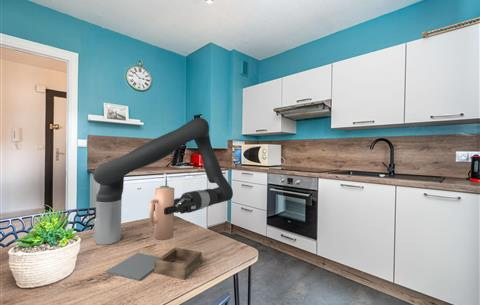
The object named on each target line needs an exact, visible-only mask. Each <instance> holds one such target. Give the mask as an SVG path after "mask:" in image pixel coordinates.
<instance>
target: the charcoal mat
mask: <svg viewBox="0 0 480 305" xmlns="http://www.w3.org/2000/svg"><path fill="white" fill-rule="evenodd" d="M159 258H160V256H156V255H152V254H148V253H147V254H146V253H140V252H136V253H135V254H133V255H131V256H130V257H127V258H126V259H124V260H122V261H121V262H119V263H118V264H115V265H114V266H112V267H111V268H109V269H107V270H106V271H105V273H106V274H110V275H114V276H117V277H121V278H126V279H129V280H133V281H138V282H140V281H142V280H143V279H145V278H146V277H147V276H148V275H150V274H151V273H153V272H154V262H155V261H156V260H158V259H159Z"/></svg>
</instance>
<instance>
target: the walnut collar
mask: <svg viewBox="0 0 480 305" xmlns="http://www.w3.org/2000/svg"><path fill="white" fill-rule="evenodd" d="M159 257H160V256H159ZM176 260H177V261H181V262H185V263H183V264H182V263H176V262H175V261H176ZM202 263H203V252H202V251H197V250H191V249H186V248H180V247H173V248H172V249H170V250H169V251H168V252H166V253H165V254H163V255H162V256H161V257H160V258H159V259H158V260H156V261H155V262H154V271H153V273H154V274H157V275H162V276H166V277H171V278H175V279H179V280H186V279H187V278H188V277H189V276H190V274H192V273H193V272H194V271H195V270H196V268H198V267H199V265H201V264H202Z"/></svg>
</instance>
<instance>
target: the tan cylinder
mask: <svg viewBox="0 0 480 305" xmlns="http://www.w3.org/2000/svg"><path fill="white" fill-rule="evenodd" d="M154 190H155V191H154V199H151V200H150V201H149V223H148V224H149V225H150V226H153V225H154V227H153V228H154V234H153V235H154V236H153V239H154V240H156V241H167V240H171V239H173V238H174V223H175V221H174V220H175V213H171V214H168V215H165V214H164V208H166V207H170V206H174V199H175V187H173V186H171V187H170V186H169V187H161V188H160V187H157V188H155V189H154ZM154 204H155V211H154Z"/></svg>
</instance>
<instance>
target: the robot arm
mask: <svg viewBox="0 0 480 305" xmlns="http://www.w3.org/2000/svg"><path fill="white" fill-rule="evenodd" d="M192 141H193V142H194V143H195V145H196V146H197V148H198V152H199V154H200V157H201V162H202V165H203V168H204V172H205V174H206V177H207V180H208V183H210V184H216V185H217V186H218V187H214V188H207V189H206V188H205V189H197V190H192V191H187V192H184V193H182V194H181V196H180V197H176V198H175V197H174V206H170V207H166V208H164V214H165V215H168V214H171V213H174V214H179V213H180V214H181V215H183V214H186V213H187V214H188V213H189V214H190V213H193V212H196V211H199V210H203V209H204V208H208V207H210V206H213V205H217V204H221V203H224V202H228V201H230V200H231V199H232V198H233V196H234V191H233V188H232V186H231V184H230V183H229V182H228V180H227V179H226V177H225V175H224V174H223V172H222V171H223V170H222V168H221V165H220V163H219V160H218V157H217V155H216V154H215V152H214V149H213V147H212V144H211V139H210V125H209V121H207V120H206V119H205V118H203V117H196V118H193V119H191V120H189V121H188V122H186V123H185V124H182V125H181V126H180V127H179V128H176V129H174V130H172V131H169V132H167V133H164V134H163V135H160V136H159V137H155V138H154V139H151V140H150V141H148V142H146V143H143V144H142V145H140V146H138V147H136V148H135V149H133V150H131V151H129V152H128V153H125V154H124V155H122V156H120V157H118V158H115V159H113V160H109V161H107V162H104V163H100V164H99V165H98V166H96V168H95V169H94V171H93V174H92V176H93V180H94V182H96V183H97V184H99V189H98V191H97V194H96V199H95V200H96V201H95V202H96V204H95V208H96V209H95V218H94V220H93V242H94V243H95V244H96V245H99V246H101V245H102V246H106V245H111V244H115V243H117V242H119V241H120V240H121V239H122V202H123V199H122V198H123V196H122V195H123V192H124V182H125V180H124V179H125V176H127V175H128V174H130V173H132V172H134V171H137V170H139V169H142V168H145V167H148V166H150V165H152V164H154V163H157V162H158V161H161V160H163V159H165V158H167V157H169V156H170V155H172V154H173V153H174V152H175V151H177V150H178V149H179V148H180V147H182V146H183V145H185V144H187V143H189V142H192ZM154 212H155V203H154Z"/></svg>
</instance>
